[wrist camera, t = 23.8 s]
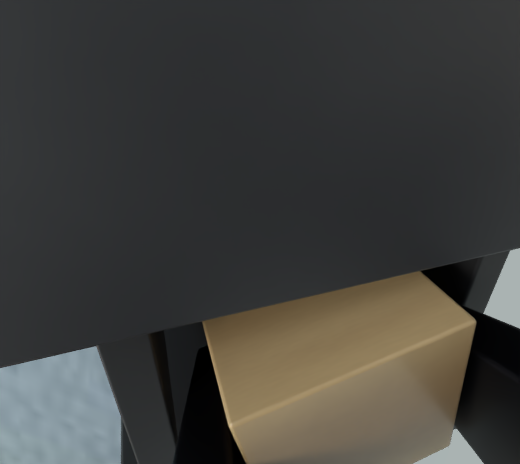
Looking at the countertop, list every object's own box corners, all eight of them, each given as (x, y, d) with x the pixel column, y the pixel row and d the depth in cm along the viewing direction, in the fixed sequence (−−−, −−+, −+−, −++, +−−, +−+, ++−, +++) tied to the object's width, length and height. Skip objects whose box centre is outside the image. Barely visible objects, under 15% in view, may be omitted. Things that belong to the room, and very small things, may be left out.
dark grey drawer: (318, 326, 20) (425, 498, 13) (144, 370, 18) (159, 610, 11) (355, -20, 12) (700, -64, 5) (40, -24, 10) (-202, -122, 2)
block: (354, 317, 11) (451, 446, 8) (228, 367, 10) (276, 530, 7) (347, 204, 9) (479, 320, 6) (186, 261, 8) (228, 428, 5)
